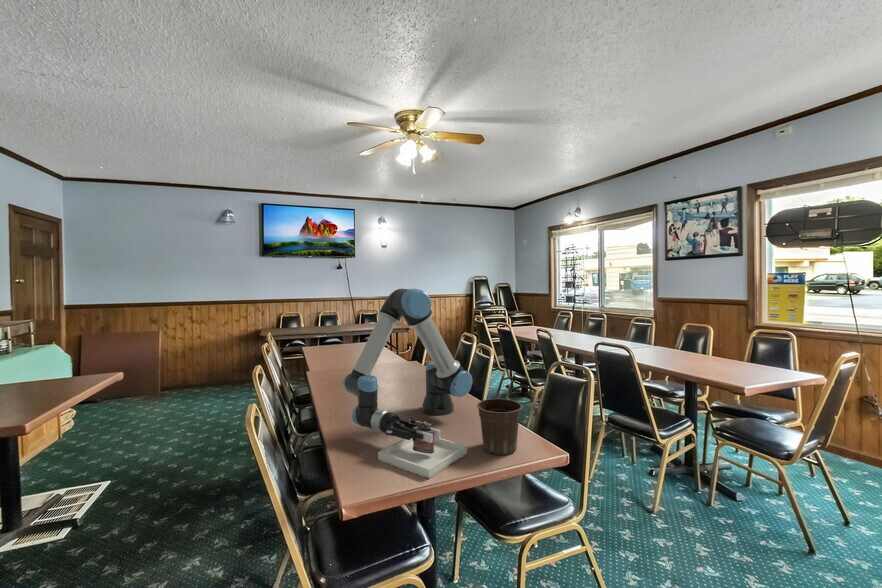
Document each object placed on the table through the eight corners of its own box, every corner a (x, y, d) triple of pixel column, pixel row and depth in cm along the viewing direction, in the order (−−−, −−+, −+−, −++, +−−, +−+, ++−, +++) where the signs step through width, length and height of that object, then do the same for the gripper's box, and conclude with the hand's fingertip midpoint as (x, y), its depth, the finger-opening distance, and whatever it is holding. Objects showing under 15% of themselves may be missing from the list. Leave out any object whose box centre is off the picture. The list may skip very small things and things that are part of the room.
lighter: (436, 450, 134) (436, 422, 134) (431, 454, 131) (431, 425, 131) (415, 446, 137) (415, 418, 137) (411, 450, 134) (411, 421, 134)
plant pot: (491, 461, 131) (491, 414, 131) (469, 443, 146) (469, 401, 145) (530, 453, 137) (531, 408, 137) (505, 437, 152) (506, 396, 152)
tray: (418, 439, 150) (418, 431, 150) (467, 454, 137) (467, 445, 137) (378, 460, 132) (378, 451, 132) (429, 479, 119) (429, 469, 119)
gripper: (400, 425, 152) (449, 439, 138) (369, 439, 138) (420, 456, 124) (400, 406, 151) (450, 418, 138) (369, 418, 138) (420, 433, 124)
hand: (435, 436), depth 131 cm, fingers closed on lighter, 4 cm apart
